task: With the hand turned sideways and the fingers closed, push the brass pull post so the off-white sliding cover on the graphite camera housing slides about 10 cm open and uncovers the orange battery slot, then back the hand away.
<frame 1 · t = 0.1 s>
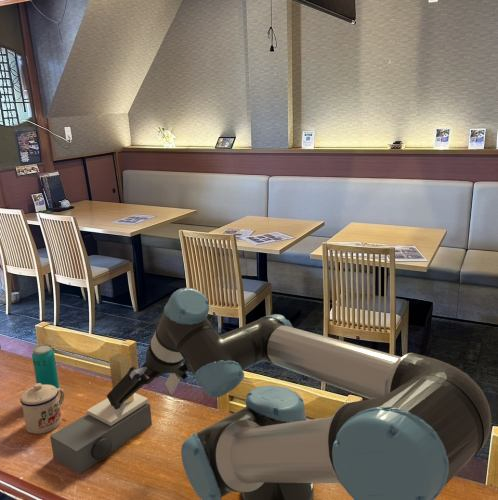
hand: (143, 399, 114), 15 cm above the table, tool tilted 35°, fingers open, 13 cm apart
teacup with lid: (48, 422, 133), on the table
beverage can: (49, 396, 145), on the table
camera housing: (104, 440, 125), on the table
sliding cover: (115, 384, 125), point 13 cm above the table, slide at 0.0 cm
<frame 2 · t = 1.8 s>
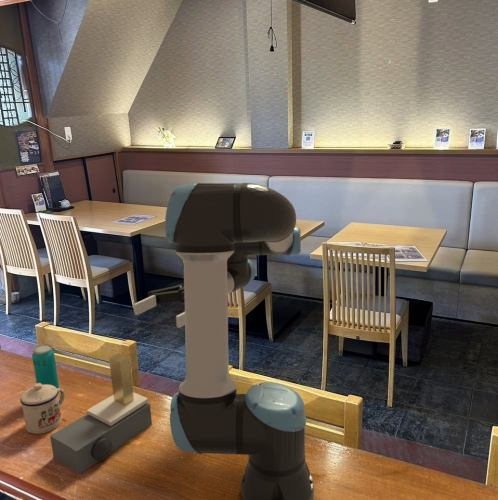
hand: (155, 315, 117), 32 cm above the table, tool horizontal, fingers open, 13 cm apart
nothing on the table moved.
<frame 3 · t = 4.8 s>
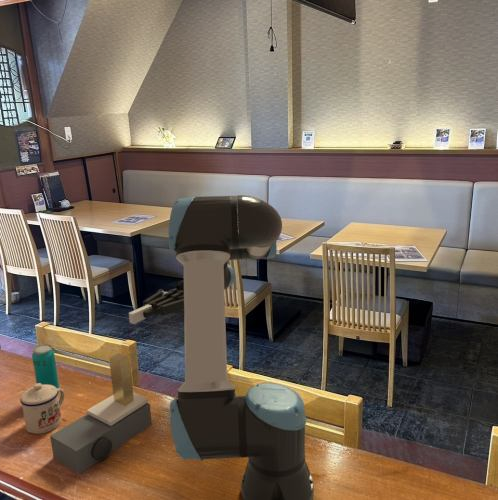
hand: (131, 318, 127), 28 cm above the table, tool horizontal, fingers closed
nothing on the table moved.
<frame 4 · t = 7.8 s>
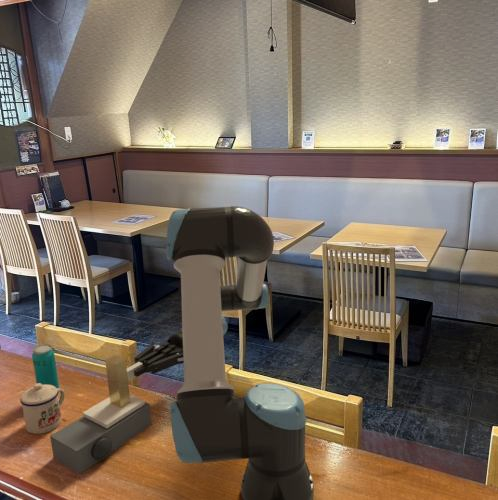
hand: (121, 377, 127), 13 cm above the table, tool horizontal, fingers closed
sliding cover: (111, 386, 124), point 13 cm above the table, slide at 1.2 cm
everything else where it was.
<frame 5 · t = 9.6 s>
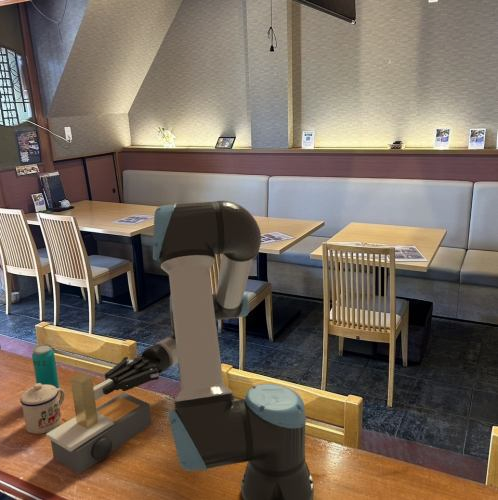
hand: (89, 396, 120), 13 cm above the table, tool horizontal, fingers closed
sliding cover: (77, 406, 116), point 13 cm above the table, slide at 11.1 cm
everything else where it was.
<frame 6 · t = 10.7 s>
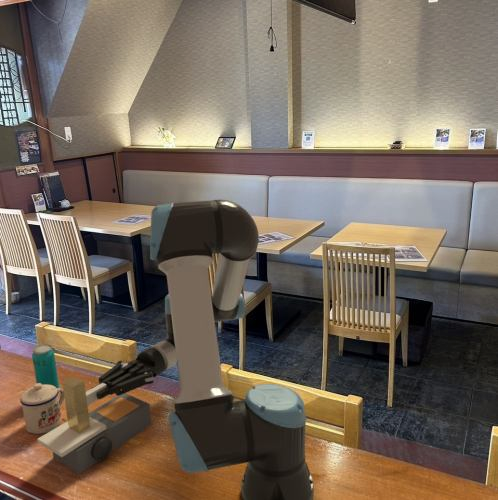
hand: (82, 401, 118), 13 cm above the table, tool horizontal, fingers closed
sliding cover: (69, 410, 115), point 13 cm above the table, slide at 13.3 cm, touching gripper
everything else where it was.
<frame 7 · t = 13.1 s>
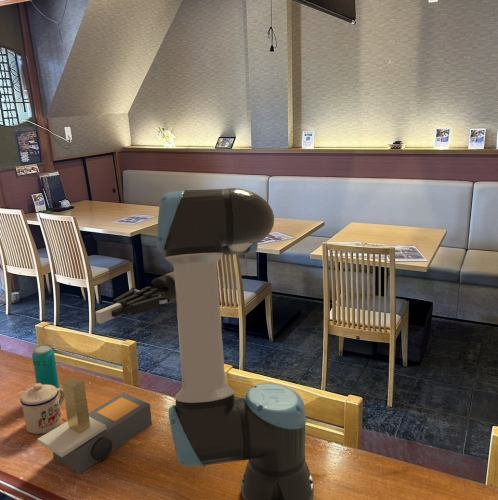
hand: (98, 317, 118), 32 cm above the table, tool horizontal, fingers closed
sliding cover: (69, 410, 115), point 13 cm above the table, slide at 13.3 cm
everything else where it was.
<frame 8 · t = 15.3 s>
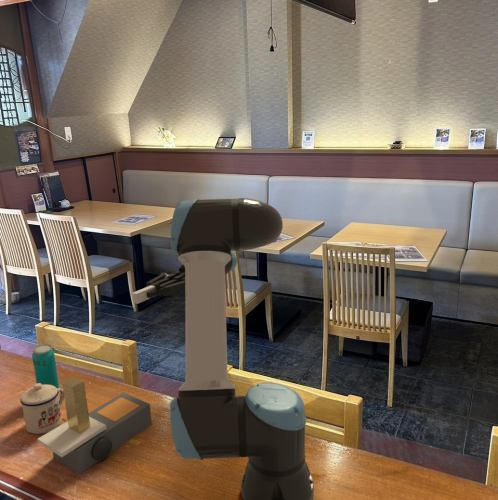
hand: (134, 298, 129), 32 cm above the table, tool horizontal, fingers closed
nothing on the table moved.
at the end: sliding cover slide at 13.3 cm; sliding cover touching nothing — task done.
